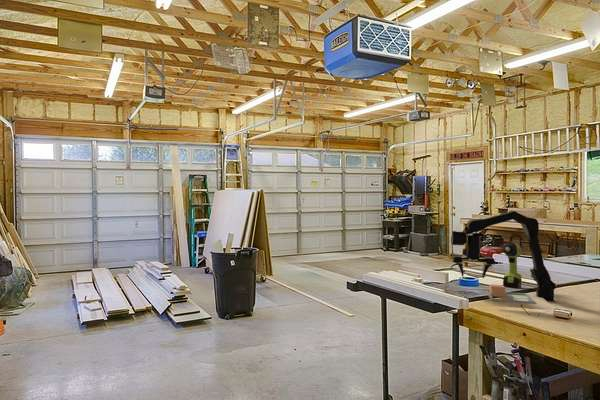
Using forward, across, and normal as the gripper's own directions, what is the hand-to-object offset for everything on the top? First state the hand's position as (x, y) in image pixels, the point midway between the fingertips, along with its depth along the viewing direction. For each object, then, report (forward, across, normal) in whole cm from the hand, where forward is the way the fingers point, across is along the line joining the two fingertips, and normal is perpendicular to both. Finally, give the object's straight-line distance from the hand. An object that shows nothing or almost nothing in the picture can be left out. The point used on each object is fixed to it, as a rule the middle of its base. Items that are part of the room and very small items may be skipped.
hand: (472, 277), depth 212 cm
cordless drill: (+10, -21, -20) cm, 31 cm away
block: (+8, -11, 0) cm, 14 cm away
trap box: (+9, -16, +4) cm, 19 cm away
